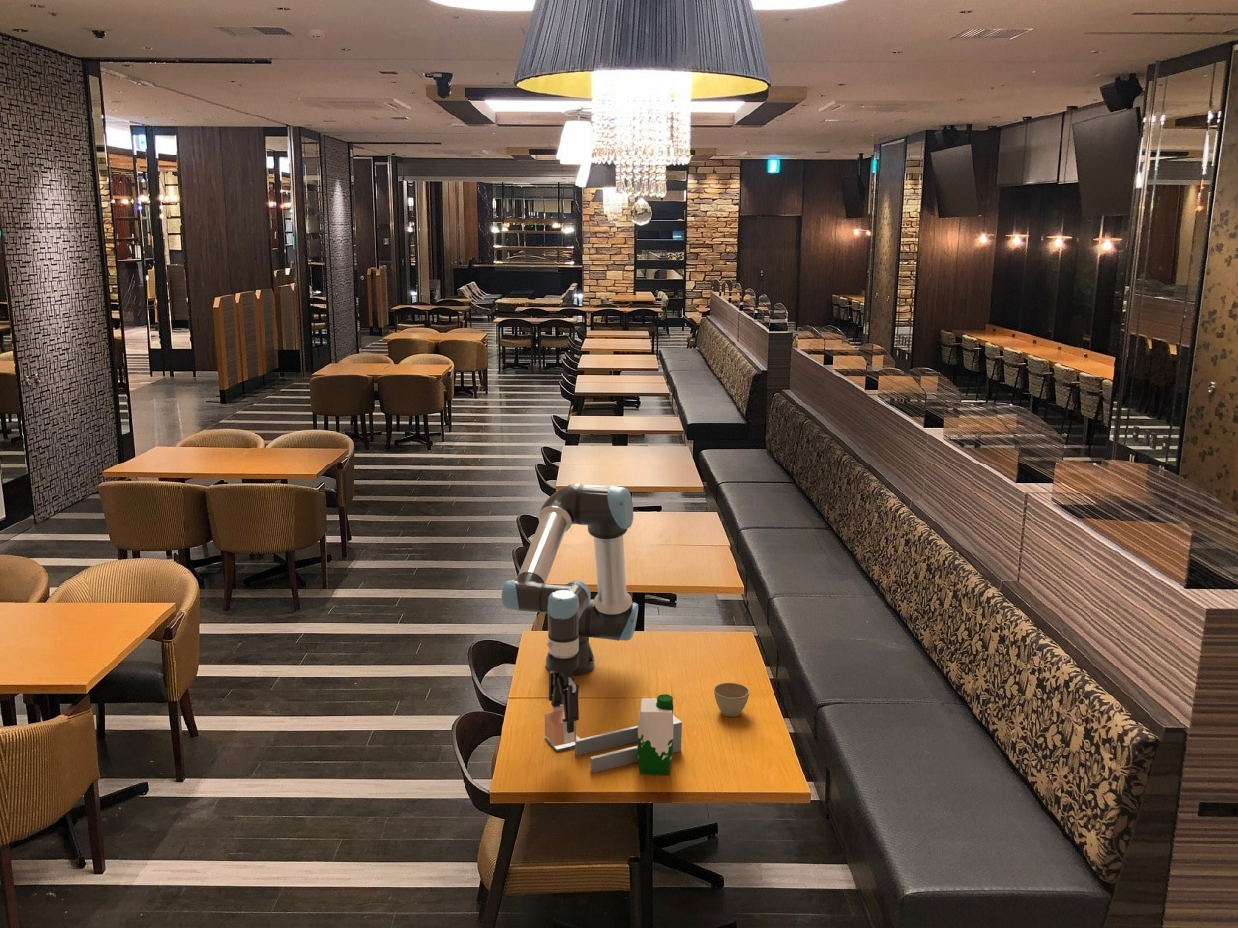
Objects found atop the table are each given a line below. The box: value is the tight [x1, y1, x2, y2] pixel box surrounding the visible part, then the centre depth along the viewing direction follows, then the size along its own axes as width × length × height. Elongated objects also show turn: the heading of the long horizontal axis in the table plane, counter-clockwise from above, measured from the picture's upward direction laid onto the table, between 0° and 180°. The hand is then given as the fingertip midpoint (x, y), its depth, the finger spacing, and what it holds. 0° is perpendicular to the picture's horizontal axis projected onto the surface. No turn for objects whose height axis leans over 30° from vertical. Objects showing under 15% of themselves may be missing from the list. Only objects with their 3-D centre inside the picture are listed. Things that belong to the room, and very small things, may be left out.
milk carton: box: [636, 693, 674, 776], centre depth 266 cm, size 9×9×20 cm
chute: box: [574, 714, 683, 774], centre depth 274 cm, size 10×26×8 cm, turn 117°
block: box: [544, 710, 577, 746], centre depth 264 cm, size 6×6×6 cm
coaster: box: [544, 734, 581, 753], centre depth 280 cm, size 8×8×1 cm
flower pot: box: [713, 682, 750, 718], centre depth 296 cm, size 10×10×7 cm
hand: (563, 735), depth 265 cm, fingers closed on block, 6 cm apart
